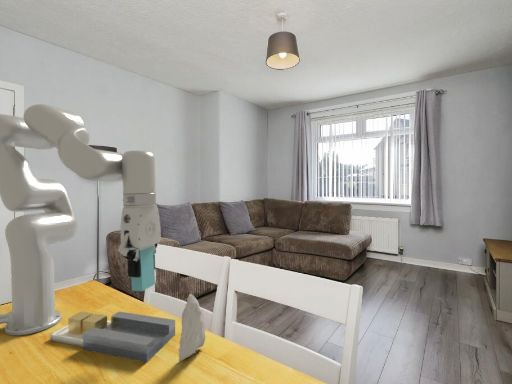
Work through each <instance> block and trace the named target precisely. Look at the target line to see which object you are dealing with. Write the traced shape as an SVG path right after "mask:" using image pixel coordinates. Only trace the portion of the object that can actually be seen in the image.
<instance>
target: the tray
mask: <svg viewBox="0 0 512 384" xmlns="http://www.w3.org/2000/svg"><path fill="white" fill-rule="evenodd" d="M110 324H111V320H108V319H107V326H108V325H110ZM49 341H53V342H58V343H63V344H67V345H73V346H77V347H82V348H83V334H82V335H77V334H71V333H69V327H68V324H67V325H65V326H64V327H62V328H60V329H58V330H56V331H54V332H52V333H51V334H50V335H49Z"/></svg>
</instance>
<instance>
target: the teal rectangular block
mask: <svg viewBox="0 0 512 384" xmlns="http://www.w3.org/2000/svg"><path fill="white" fill-rule="evenodd" d="M132 247H133V246H132ZM135 248H136V247H135ZM134 251H135V250H132V253H133V254H134ZM138 260H140V267H141V276H140V277H130V279H131V291H132V292H144V291H146V290H147V289H149V288H151V287H152V286H154V285H156V280H155V279H156V275H155V269H154V257H153V245H151V246H148V247H145V248H142V249H139V259H138Z"/></svg>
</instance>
